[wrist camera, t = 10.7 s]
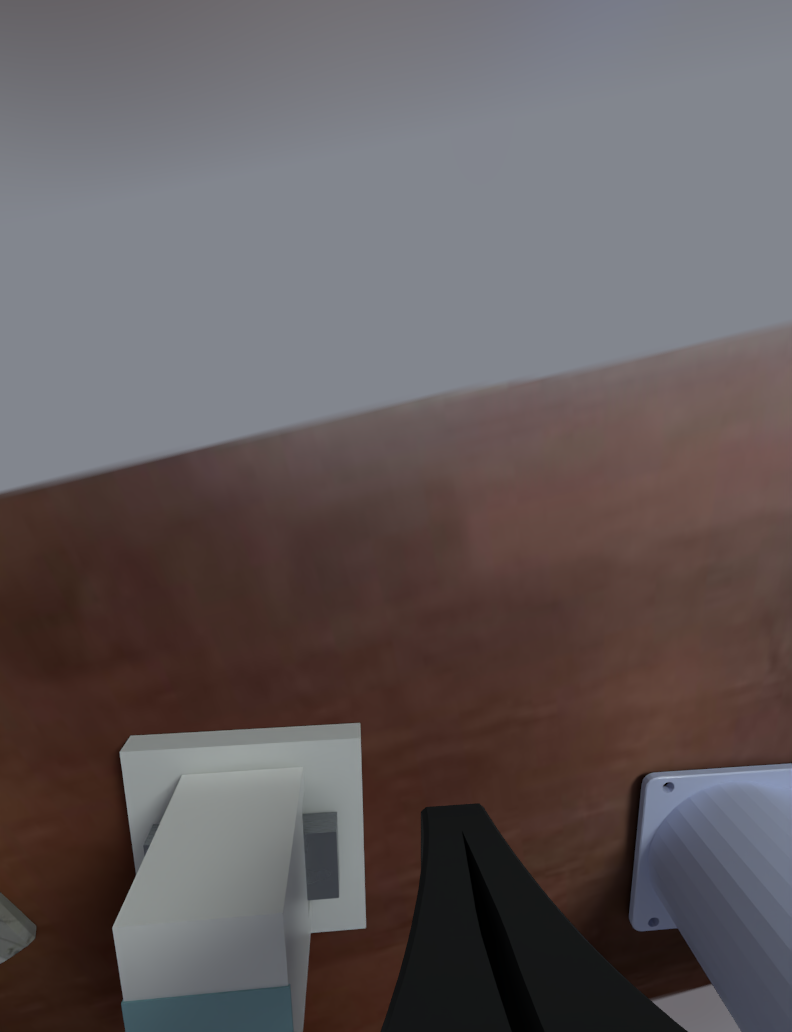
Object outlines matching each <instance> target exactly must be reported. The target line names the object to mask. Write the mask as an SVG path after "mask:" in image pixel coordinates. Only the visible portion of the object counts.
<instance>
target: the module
mask: <svg viewBox="0 0 792 1032" xmlns="http://www.w3.org/2000/svg"><path fill="white" fill-rule="evenodd" d="M303 796H304V777H303V767H293V768H278V769H263V770H248V771H233V772H218V773H203V774H188V775H182V776H181V778H180V781H179V783H178V785H177V787H176V789H175V792H174V794H173V796H172V798H171V800H170V802H169V805H168V807H167V809H166V811H165V813H164V816H163V818H162V820H161V822H160V824H159V827H158V829H157V831H156V833H155V835H154V837H153V840H152V842H151V844H150V846H149V848H148V851H147V853H146V855H145V857H144V859H143V862H142V864H141V866H140V868H139V870H138V872H137V875H136V877H135V879H134V881H133V883H132V886H131V888H130V890H129V892H128V894H127V896H126V899H125V901H124V903H123V905H122V907H121V910H120V912H119V914H118V916H117V918H116V921H115V923H114V925H113V927H112V930H113V936H114V942H115V949H116V955H117V962H118V968H119V975H120V981H121V987H122V994H123V1000H122V1003H121V1006H122V1013H123V1019H124V1025H125V1032H303V1024H304V1011H305V998H306V986H307V973H308V960H309V948H310V935H311V922H312V910H311V900H307V884H306V868H305V851H304V835H303V819H302V804H303Z"/></svg>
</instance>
